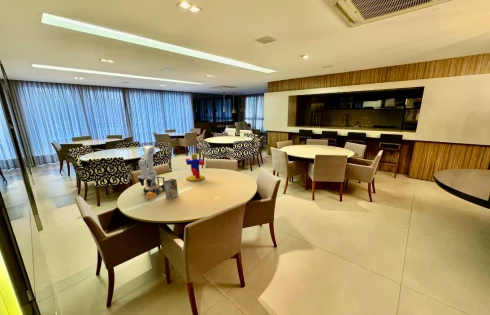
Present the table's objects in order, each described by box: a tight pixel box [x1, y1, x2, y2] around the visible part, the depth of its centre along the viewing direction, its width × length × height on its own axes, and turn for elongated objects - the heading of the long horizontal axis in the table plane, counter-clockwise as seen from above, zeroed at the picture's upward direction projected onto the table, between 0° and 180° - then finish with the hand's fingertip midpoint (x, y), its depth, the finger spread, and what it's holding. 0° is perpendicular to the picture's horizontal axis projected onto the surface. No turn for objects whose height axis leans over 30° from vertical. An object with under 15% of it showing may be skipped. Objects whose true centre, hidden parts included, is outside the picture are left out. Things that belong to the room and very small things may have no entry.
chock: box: [145, 191, 158, 200], centre depth 177 cm, size 5×7×6 cm
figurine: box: [185, 153, 206, 183], centre depth 224 cm, size 22×22×30 cm
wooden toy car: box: [142, 176, 165, 196], centre depth 189 cm, size 17×14×13 cm
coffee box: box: [164, 178, 179, 200], centre depth 177 cm, size 9×6×16 cm
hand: (146, 186), depth 180 cm, fingers open, 7 cm apart
